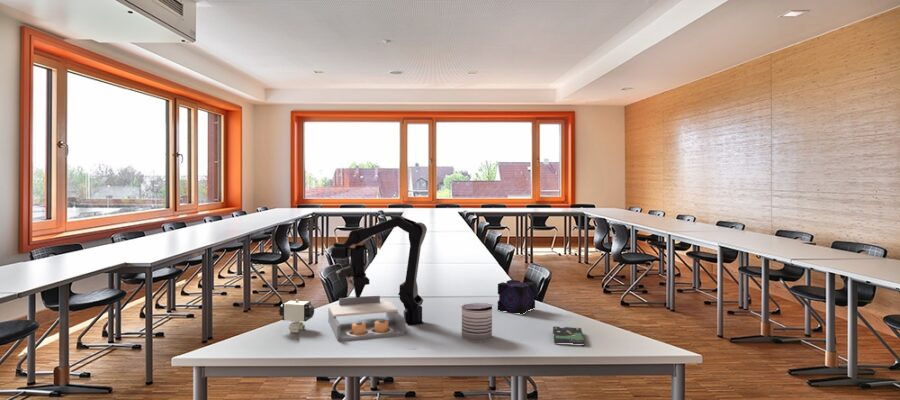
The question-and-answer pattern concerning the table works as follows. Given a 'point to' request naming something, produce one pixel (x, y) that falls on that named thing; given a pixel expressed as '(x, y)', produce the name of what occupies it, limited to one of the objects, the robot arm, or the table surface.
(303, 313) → the pneumatic valve
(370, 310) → the lid
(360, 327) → the orange grey domed knob
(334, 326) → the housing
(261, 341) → the table surface
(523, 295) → the energy cube
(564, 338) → the disk drive
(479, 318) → the can
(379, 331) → the orange grey rounded piece
